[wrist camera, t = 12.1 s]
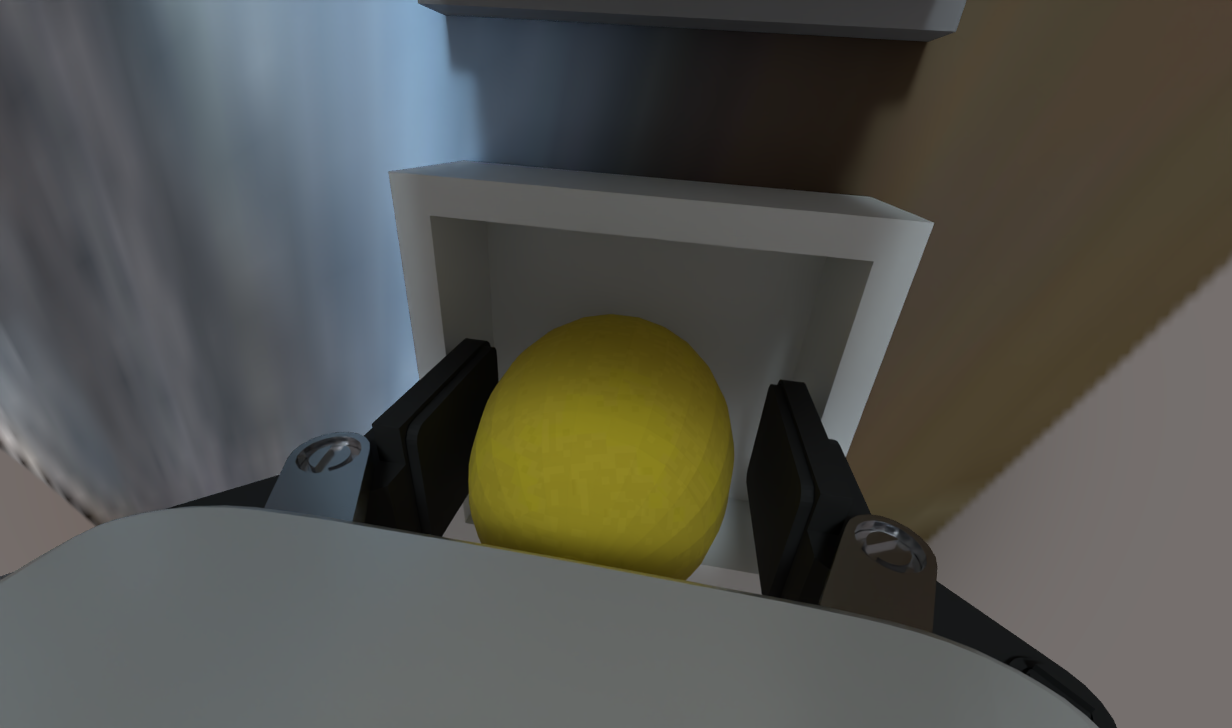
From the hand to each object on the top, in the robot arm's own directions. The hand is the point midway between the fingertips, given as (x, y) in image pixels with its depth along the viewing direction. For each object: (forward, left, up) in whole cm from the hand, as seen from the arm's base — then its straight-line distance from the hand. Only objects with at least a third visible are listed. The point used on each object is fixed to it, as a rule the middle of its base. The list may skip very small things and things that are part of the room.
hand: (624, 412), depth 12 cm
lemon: (0, 0, -3) cm, 3 cm away
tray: (0, 0, -3) cm, 3 cm away
